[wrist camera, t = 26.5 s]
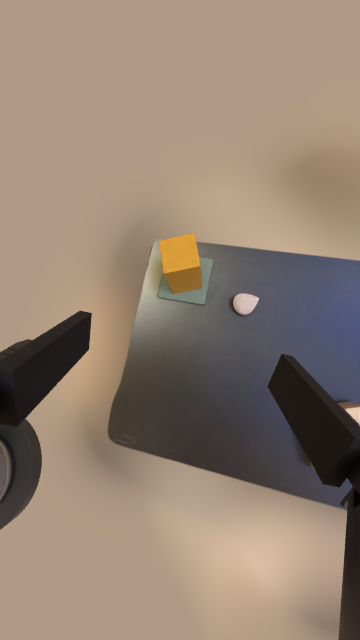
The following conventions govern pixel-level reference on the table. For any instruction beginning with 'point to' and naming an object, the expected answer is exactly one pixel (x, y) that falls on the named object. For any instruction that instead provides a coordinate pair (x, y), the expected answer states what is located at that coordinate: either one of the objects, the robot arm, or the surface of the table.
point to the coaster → (193, 295)
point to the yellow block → (181, 263)
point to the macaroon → (244, 303)
